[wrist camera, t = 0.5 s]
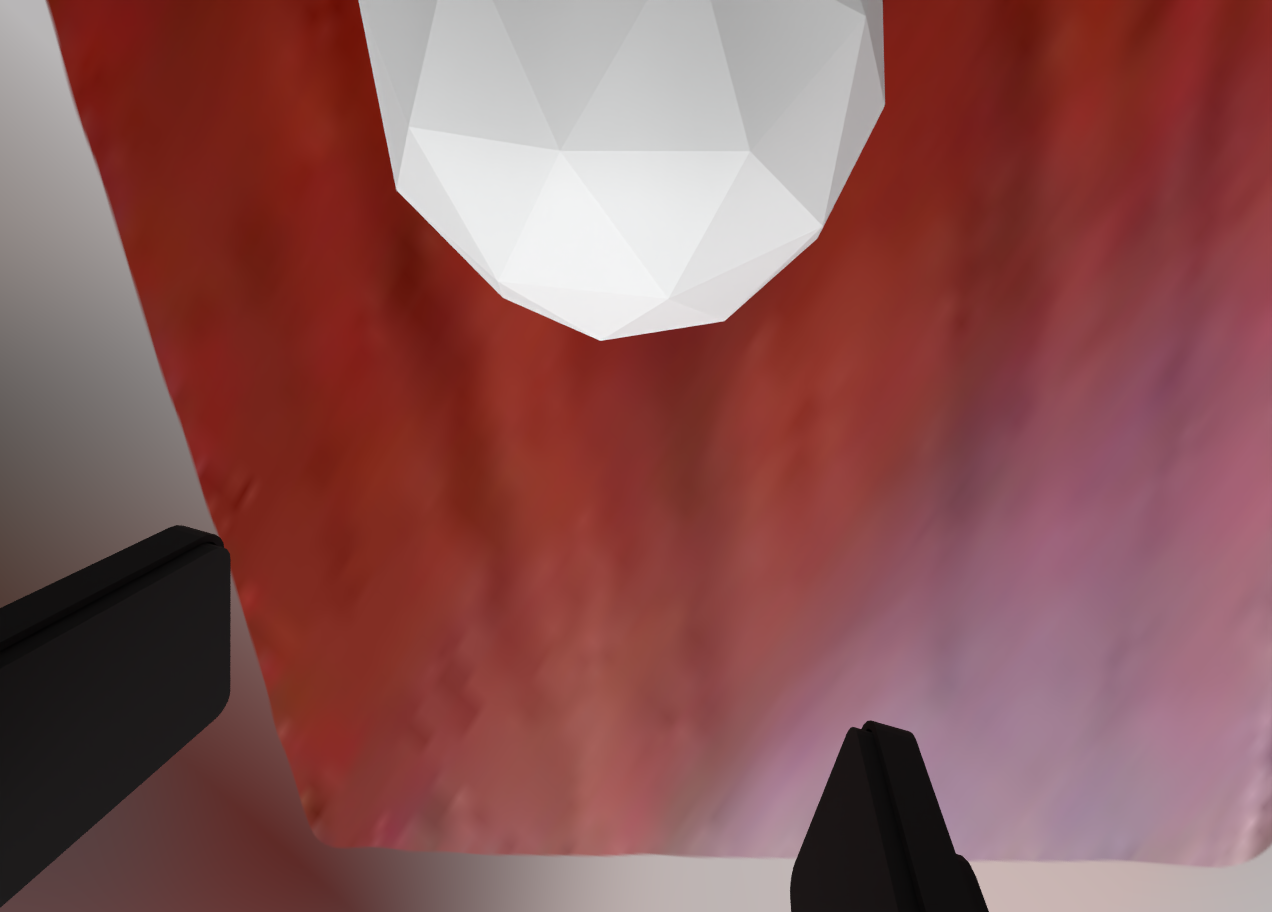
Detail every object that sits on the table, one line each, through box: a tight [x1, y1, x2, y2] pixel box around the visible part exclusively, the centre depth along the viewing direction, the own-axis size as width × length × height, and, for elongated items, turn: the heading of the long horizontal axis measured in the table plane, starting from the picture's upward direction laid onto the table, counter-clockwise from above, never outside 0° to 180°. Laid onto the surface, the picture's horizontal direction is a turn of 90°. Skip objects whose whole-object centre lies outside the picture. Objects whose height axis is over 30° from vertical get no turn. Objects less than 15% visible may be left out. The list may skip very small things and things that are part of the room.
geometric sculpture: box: [359, 0, 885, 341], centre depth 26 cm, size 19×20×20 cm
